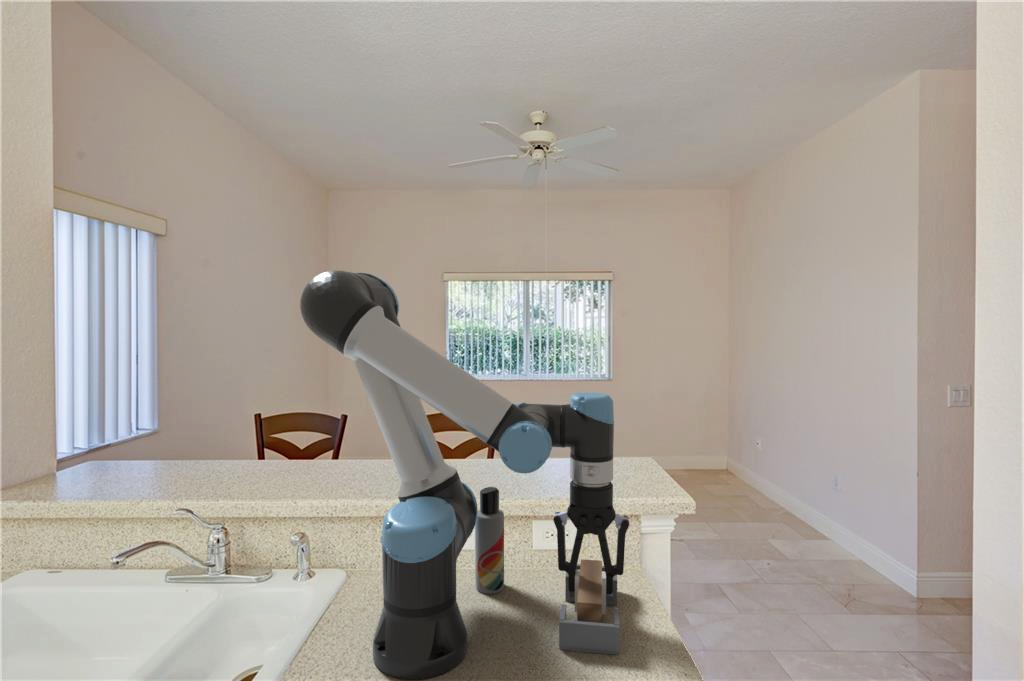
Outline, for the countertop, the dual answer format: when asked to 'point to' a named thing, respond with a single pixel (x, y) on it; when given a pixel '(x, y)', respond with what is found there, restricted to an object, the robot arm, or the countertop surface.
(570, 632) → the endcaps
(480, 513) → the lotion bottle
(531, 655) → the countertop surface
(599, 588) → the slat
